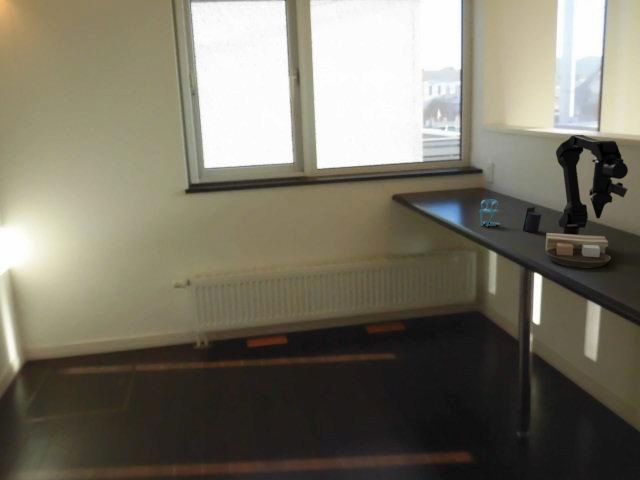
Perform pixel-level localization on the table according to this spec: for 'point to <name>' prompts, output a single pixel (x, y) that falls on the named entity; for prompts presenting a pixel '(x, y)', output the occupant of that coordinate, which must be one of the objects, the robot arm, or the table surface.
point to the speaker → (532, 220)
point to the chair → (489, 212)
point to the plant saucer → (578, 259)
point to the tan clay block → (564, 249)
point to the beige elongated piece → (575, 241)
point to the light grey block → (590, 250)
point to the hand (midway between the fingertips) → (598, 218)
